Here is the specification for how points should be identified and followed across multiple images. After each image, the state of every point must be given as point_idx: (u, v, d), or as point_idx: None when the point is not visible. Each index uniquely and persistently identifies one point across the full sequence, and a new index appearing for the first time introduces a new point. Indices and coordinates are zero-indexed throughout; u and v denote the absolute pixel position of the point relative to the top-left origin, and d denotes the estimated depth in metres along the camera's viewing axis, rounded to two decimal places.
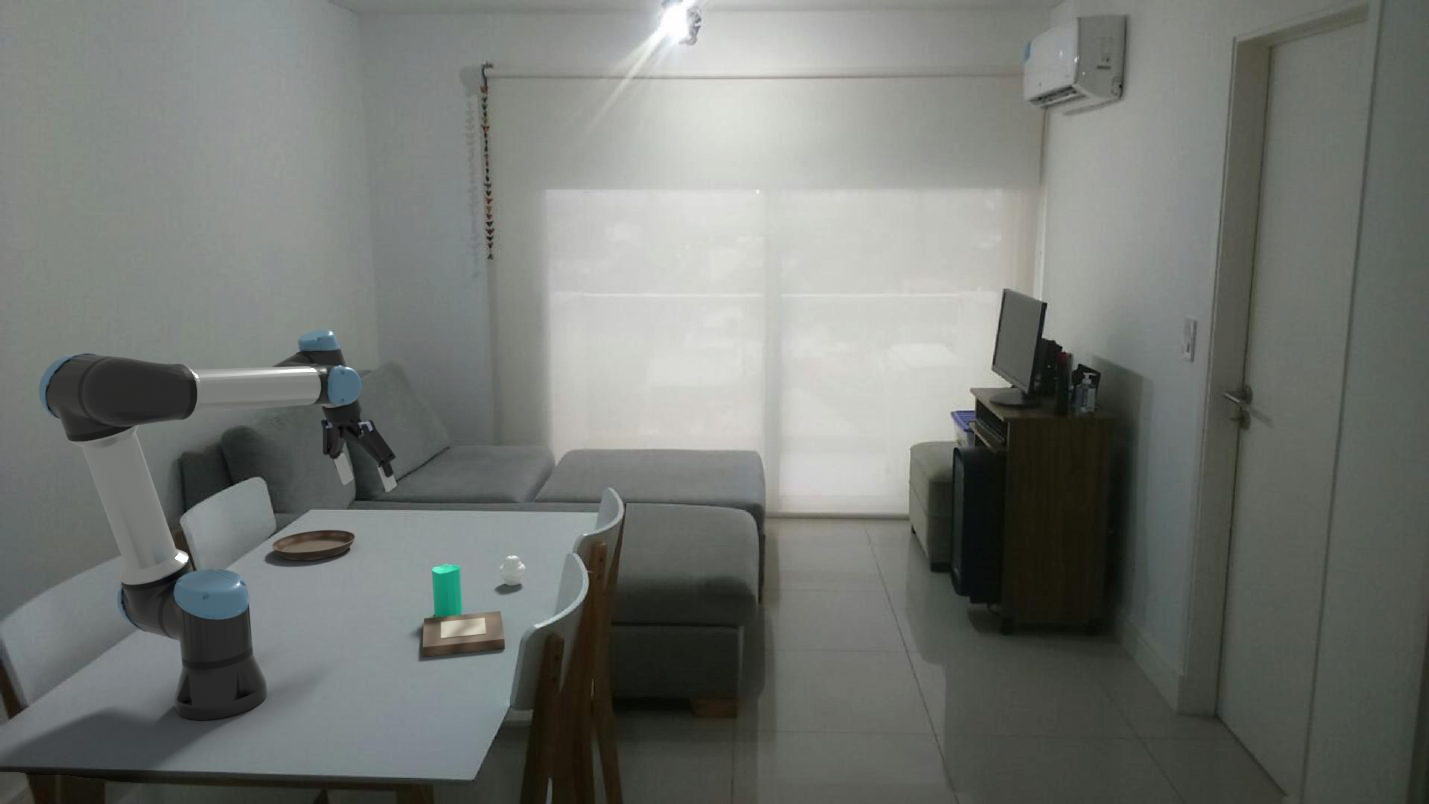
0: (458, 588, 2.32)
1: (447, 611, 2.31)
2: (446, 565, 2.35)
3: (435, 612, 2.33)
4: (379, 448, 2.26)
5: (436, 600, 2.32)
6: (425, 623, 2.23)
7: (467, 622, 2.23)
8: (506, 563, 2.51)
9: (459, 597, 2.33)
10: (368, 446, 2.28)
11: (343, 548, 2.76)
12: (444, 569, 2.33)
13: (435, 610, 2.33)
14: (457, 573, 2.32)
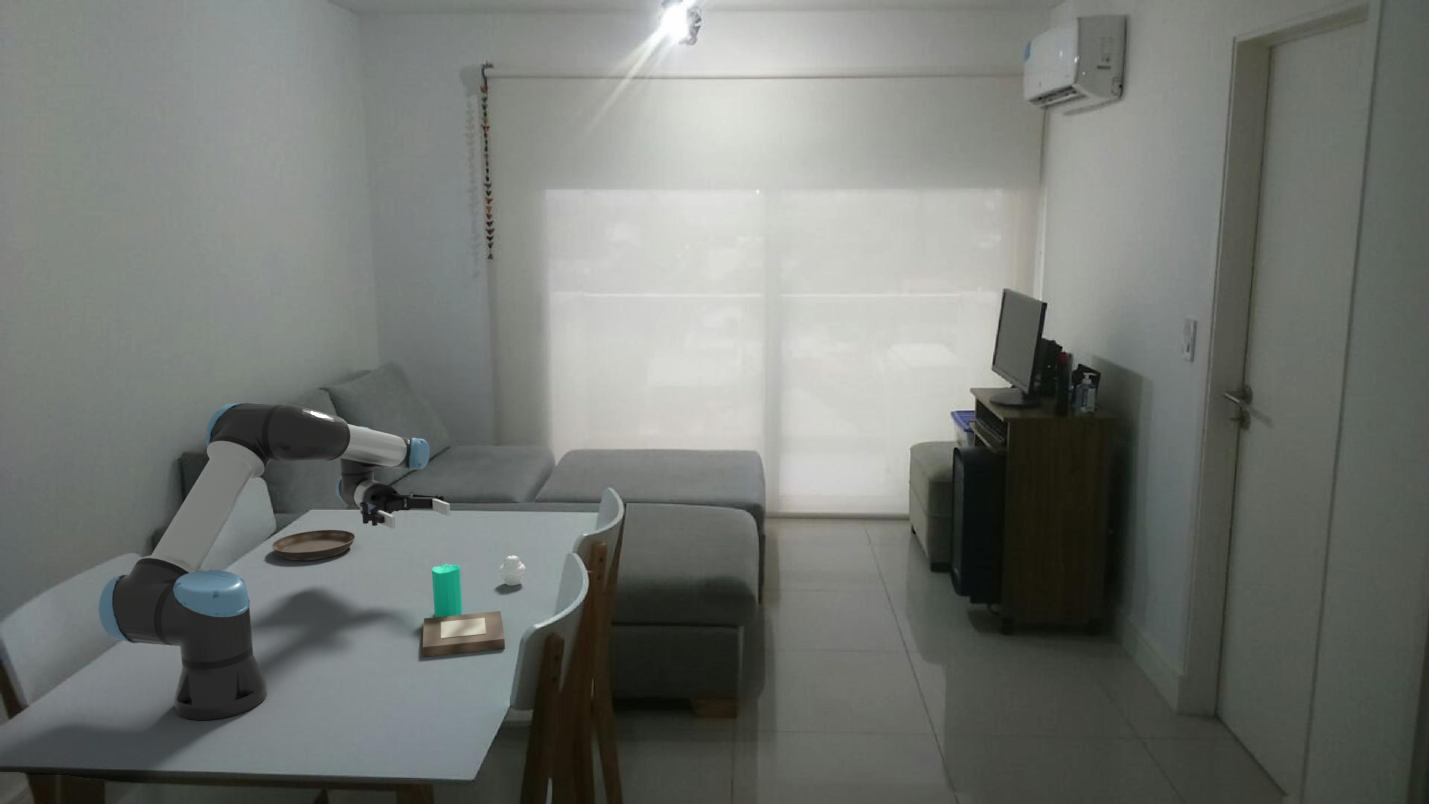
0: (458, 588, 2.32)
1: (447, 611, 2.31)
2: (446, 565, 2.35)
3: (435, 612, 2.33)
4: None
5: (436, 600, 2.32)
6: (425, 623, 2.23)
7: (467, 622, 2.23)
8: (506, 563, 2.51)
9: (459, 597, 2.33)
10: None
11: (343, 548, 2.76)
12: (444, 569, 2.33)
13: (435, 610, 2.33)
14: (457, 573, 2.32)
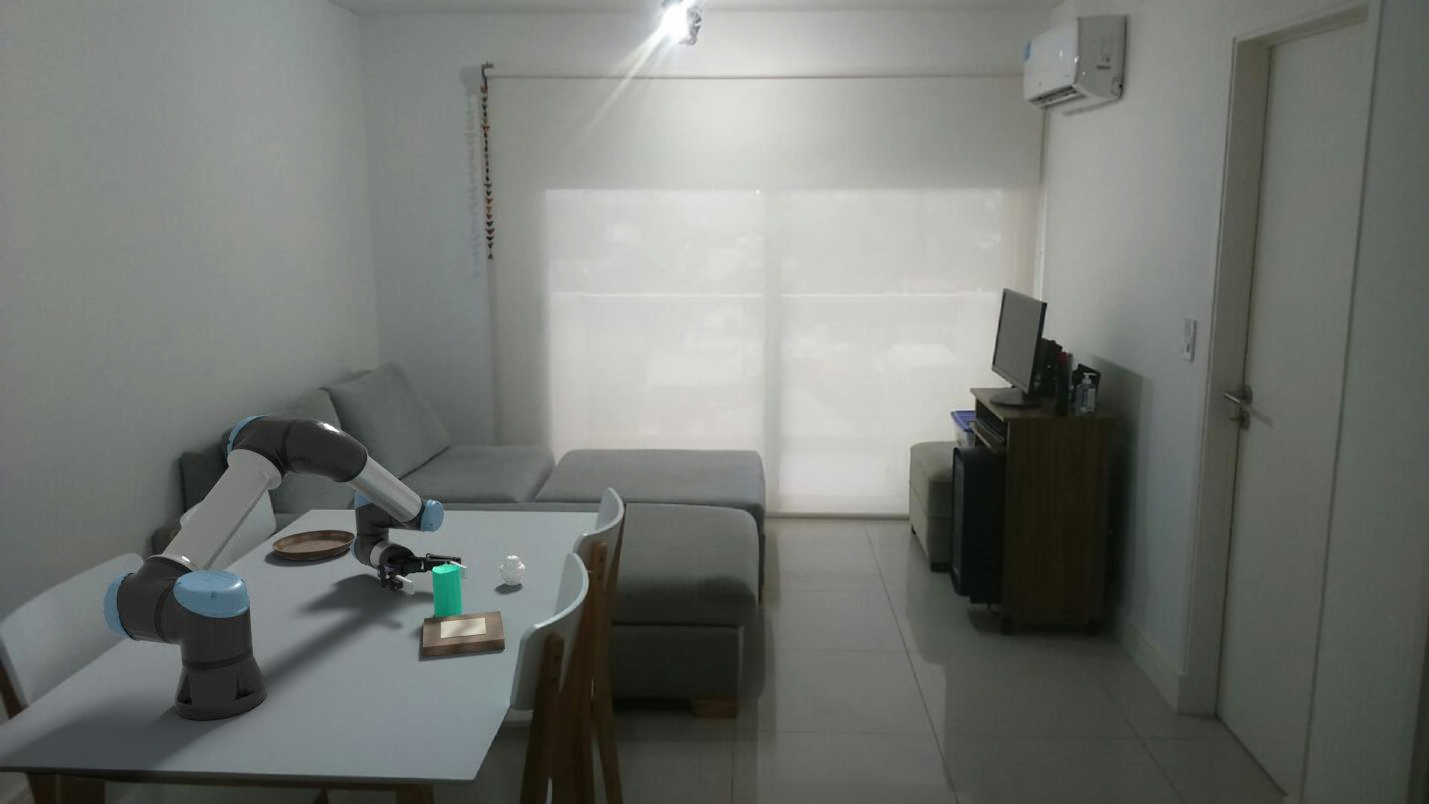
0: (458, 588, 2.32)
1: (447, 611, 2.31)
2: (446, 565, 2.35)
3: (435, 612, 2.33)
4: None
5: (436, 600, 2.32)
6: (425, 623, 2.23)
7: (467, 622, 2.23)
8: (506, 563, 2.51)
9: (459, 597, 2.33)
10: None
11: (343, 548, 2.76)
12: (444, 569, 2.33)
13: (435, 610, 2.33)
14: (457, 573, 2.32)
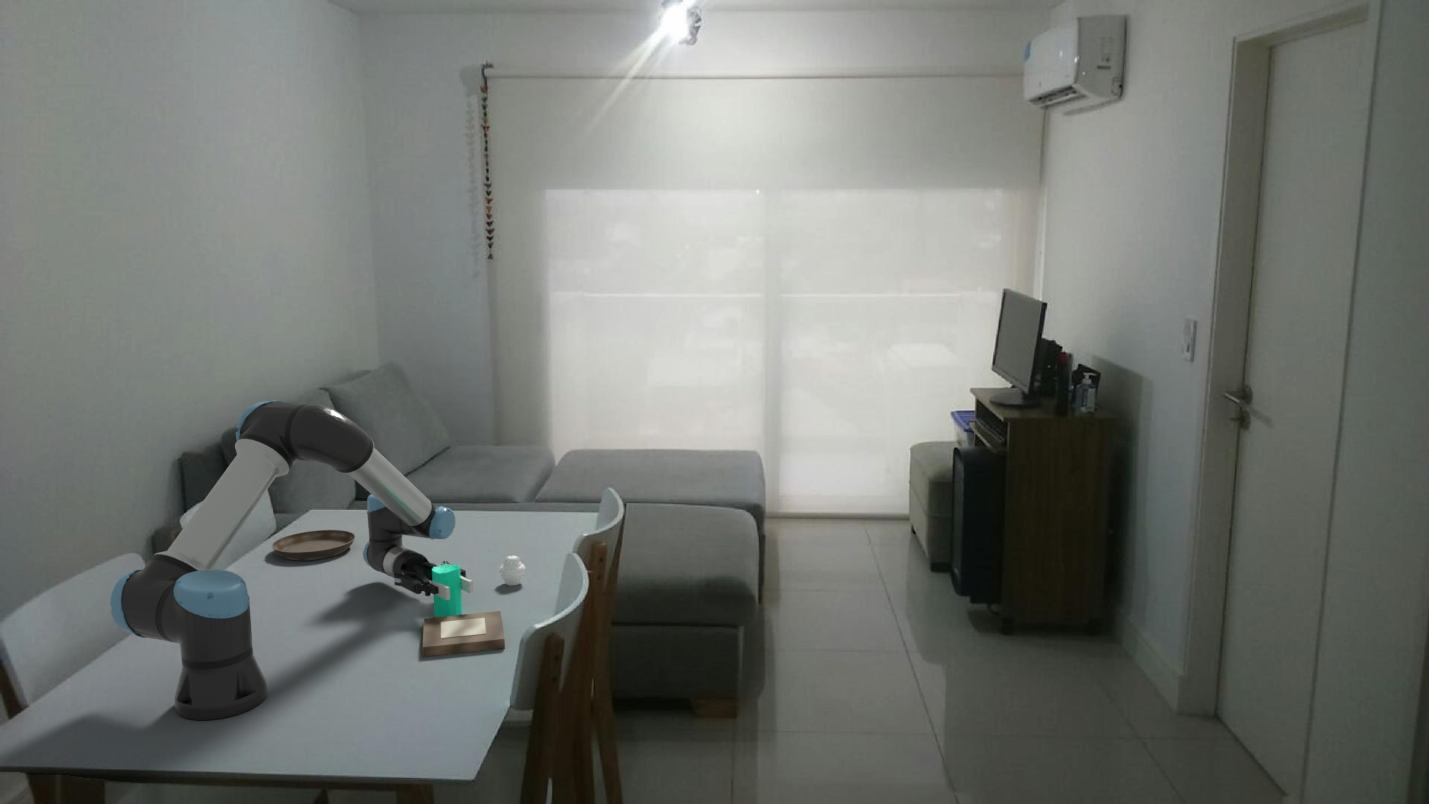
0: (458, 588, 2.32)
1: (447, 611, 2.31)
2: (446, 565, 2.35)
3: (435, 612, 2.33)
4: None
5: (436, 600, 2.32)
6: (425, 623, 2.23)
7: (467, 622, 2.23)
8: (506, 563, 2.51)
9: (459, 597, 2.33)
10: None
11: (343, 548, 2.76)
12: (444, 569, 2.33)
13: (435, 610, 2.33)
14: (457, 573, 2.32)
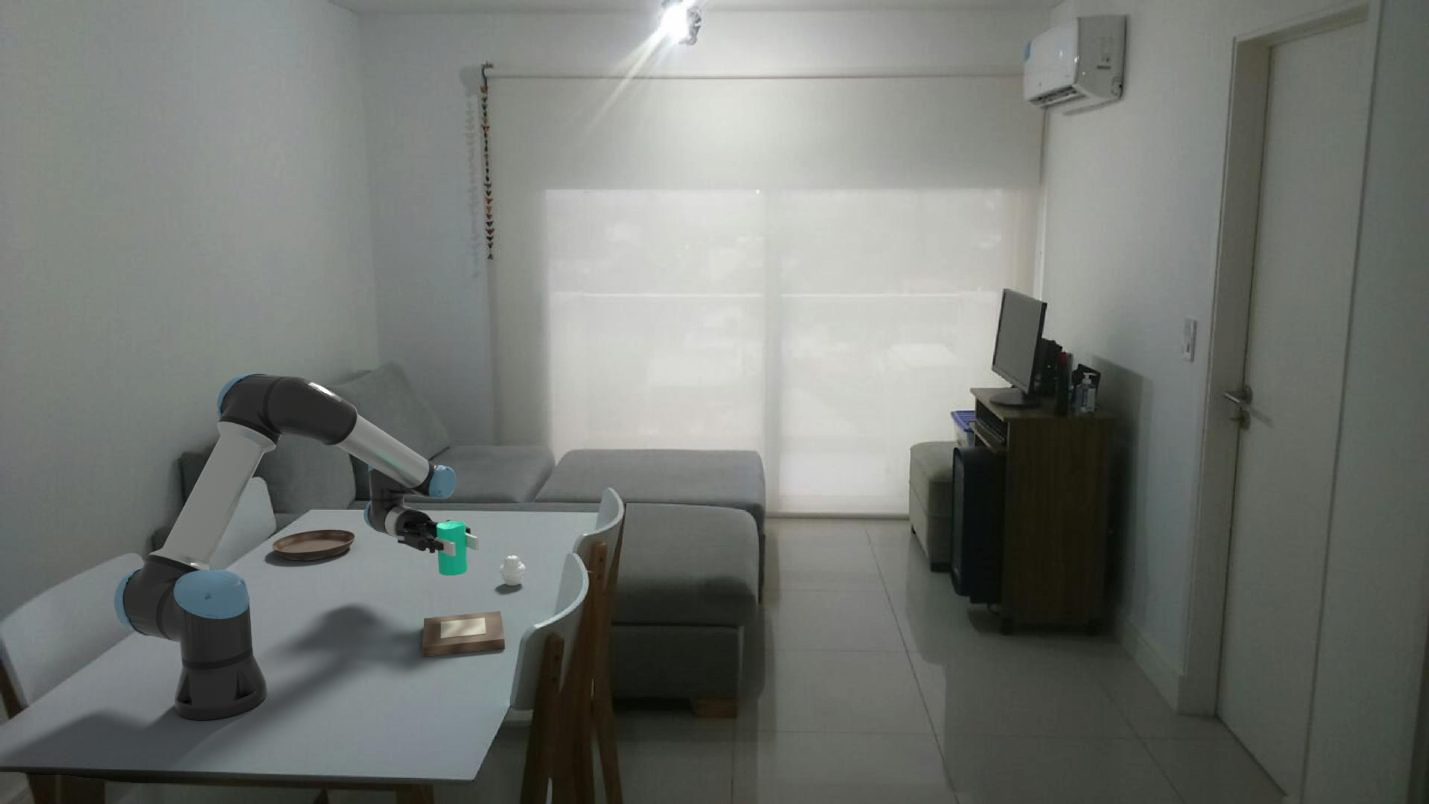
0: (463, 545, 2.27)
1: (452, 568, 2.26)
2: (451, 522, 2.30)
3: (440, 569, 2.27)
4: None
5: (441, 557, 2.26)
6: (425, 623, 2.23)
7: (467, 622, 2.23)
8: (506, 563, 2.51)
9: (464, 554, 2.28)
10: None
11: (343, 548, 2.76)
12: (449, 525, 2.28)
13: (440, 567, 2.27)
14: (462, 529, 2.26)
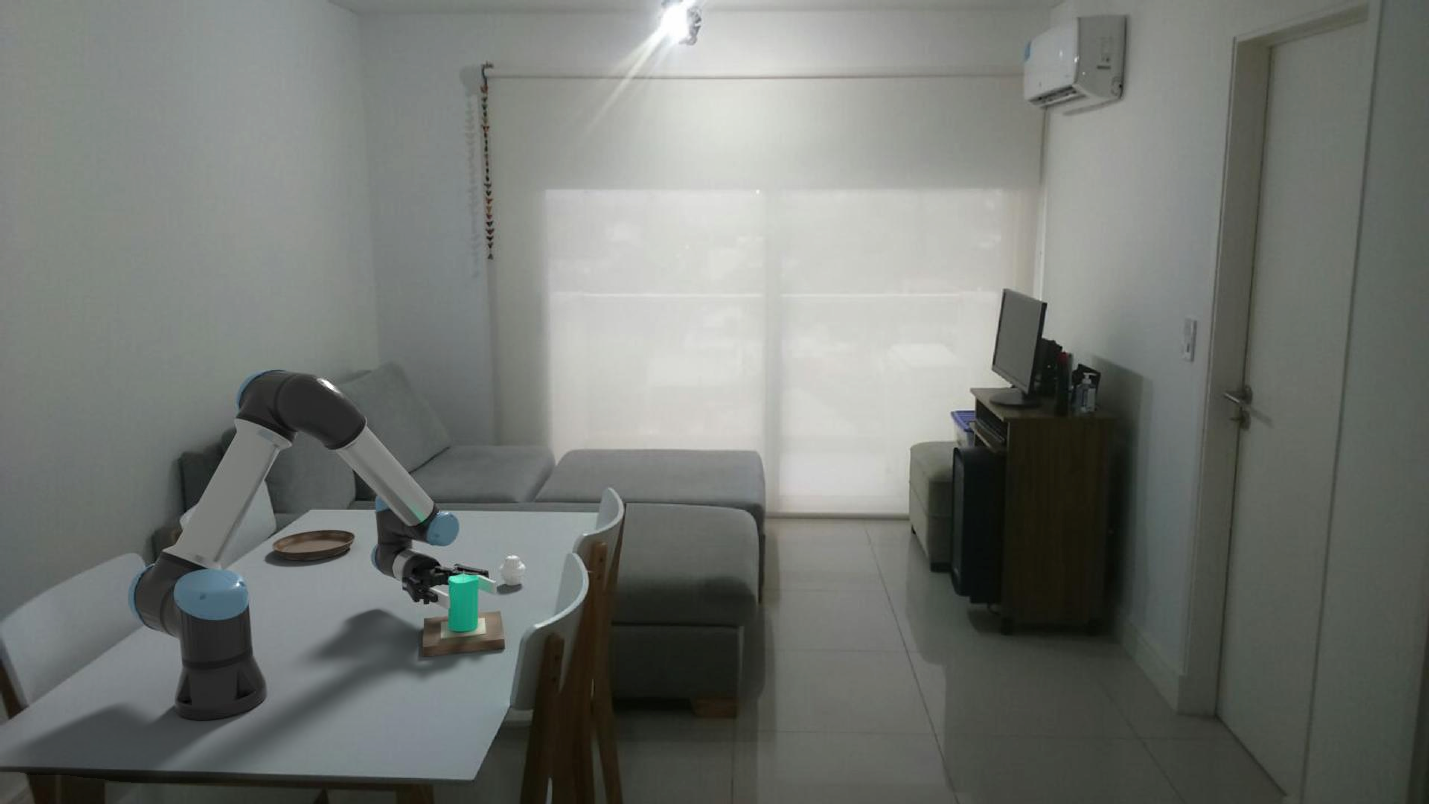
0: (475, 600, 2.19)
1: (462, 624, 2.17)
2: (463, 575, 2.22)
3: (449, 624, 2.19)
4: None
5: (451, 612, 2.18)
6: (425, 623, 2.23)
7: None
8: (506, 563, 2.51)
9: (476, 609, 2.19)
10: None
11: (343, 548, 2.76)
12: (462, 579, 2.20)
13: (449, 622, 2.19)
14: (475, 584, 2.18)
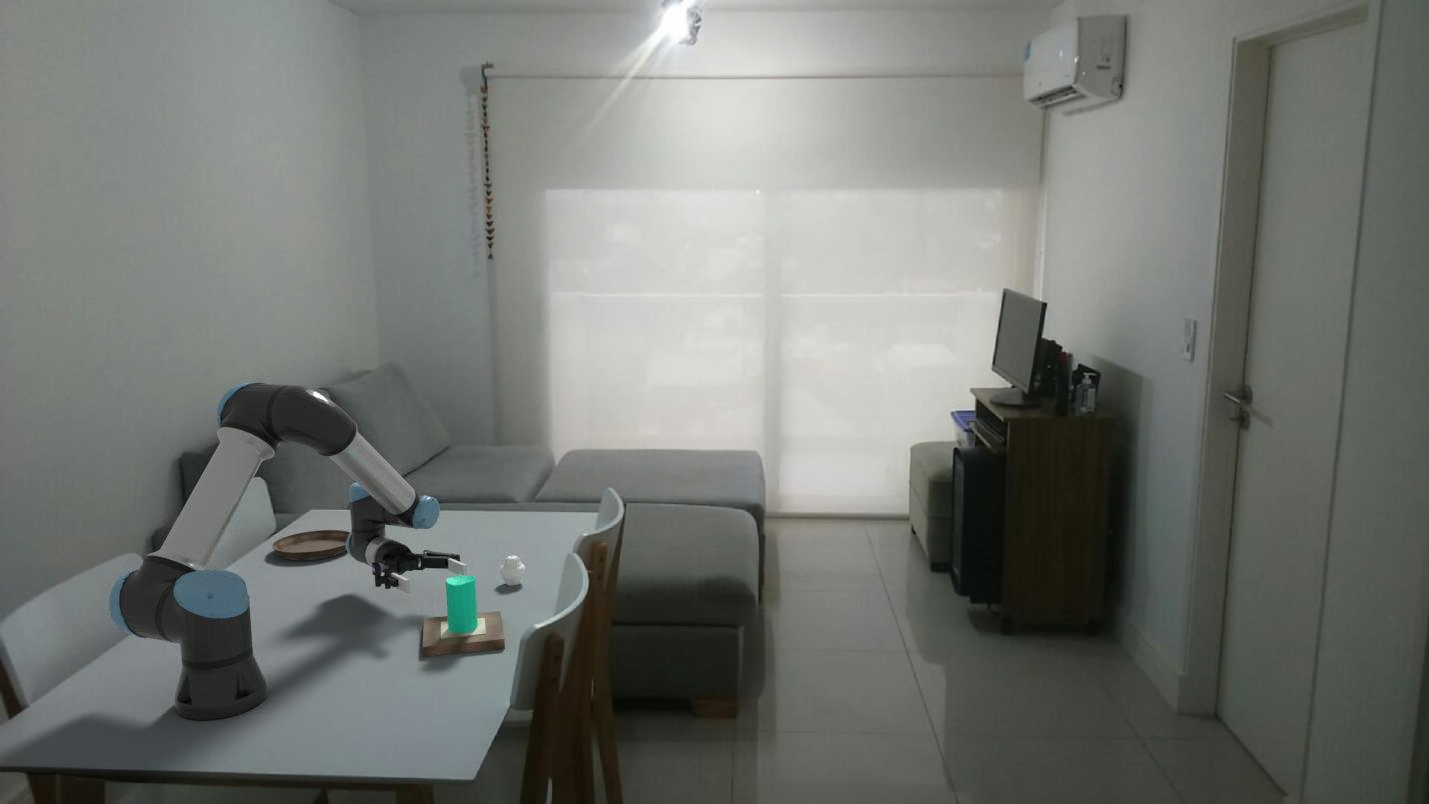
0: (474, 600, 2.19)
1: (462, 625, 2.17)
2: (460, 576, 2.21)
3: (449, 626, 2.19)
4: None
5: (450, 613, 2.18)
6: (425, 623, 2.23)
7: None
8: (506, 563, 2.51)
9: (475, 610, 2.19)
10: None
11: (343, 548, 2.76)
12: (459, 580, 2.19)
13: (449, 624, 2.19)
14: (473, 585, 2.18)
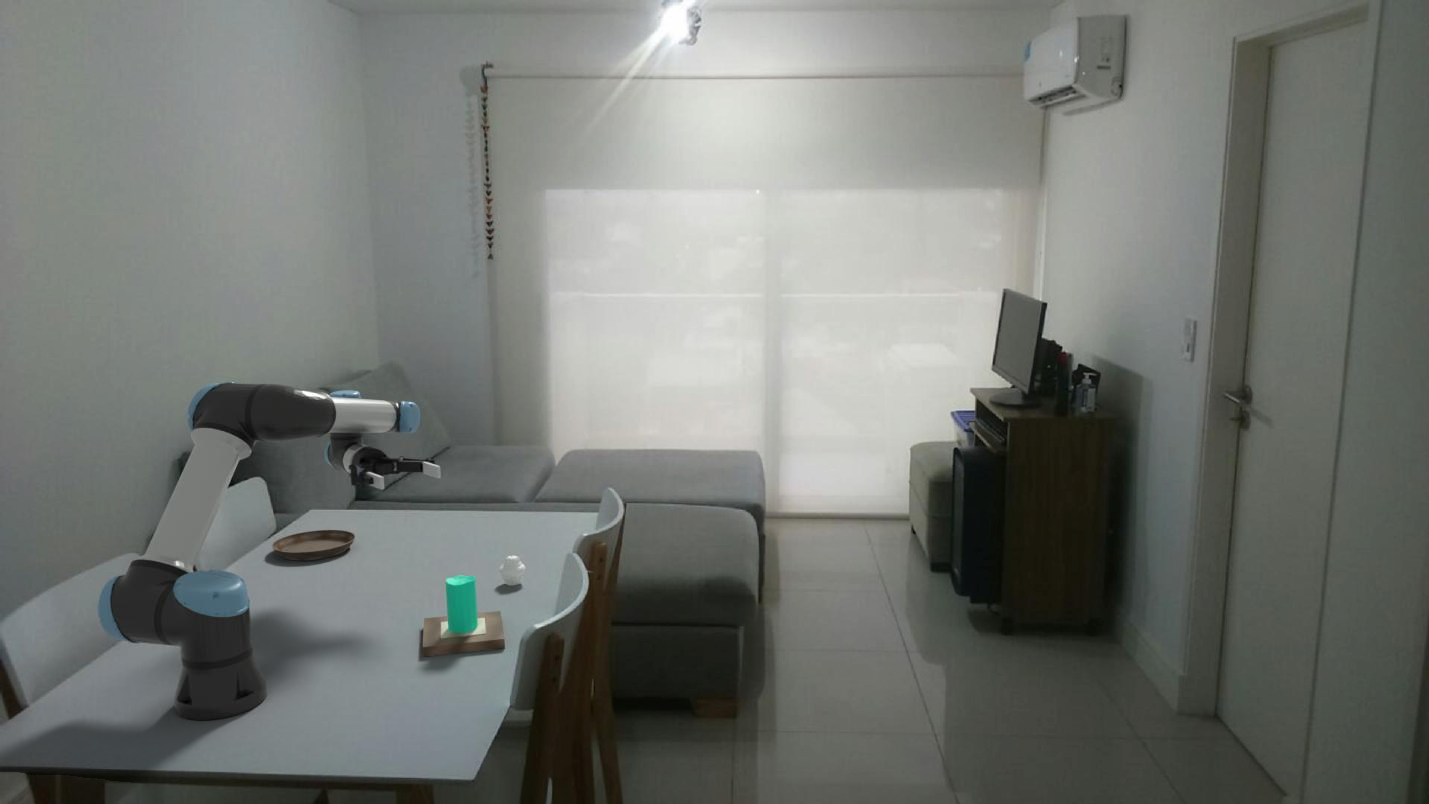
0: (474, 600, 2.19)
1: (462, 625, 2.17)
2: (460, 576, 2.21)
3: (449, 626, 2.19)
4: None
5: (450, 613, 2.18)
6: (425, 623, 2.23)
7: None
8: (506, 563, 2.51)
9: (475, 610, 2.19)
10: None
11: (343, 548, 2.76)
12: (459, 580, 2.19)
13: (449, 624, 2.19)
14: (473, 585, 2.18)
